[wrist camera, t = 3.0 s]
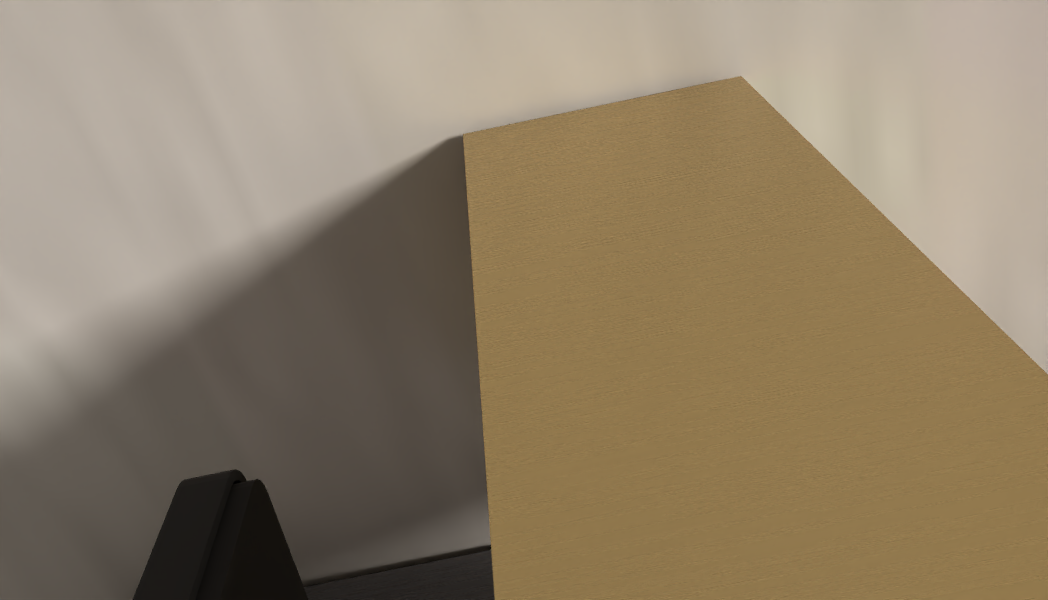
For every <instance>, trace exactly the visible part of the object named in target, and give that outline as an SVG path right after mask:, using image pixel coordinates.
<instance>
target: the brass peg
mask: <svg viewBox="0 0 1048 600" xmlns="http://www.w3.org/2000/svg"><path fill="white" fill-rule="evenodd" d="M463 142H464V157H465V172H466V186H467V201H468V216H469V230H470V245H471V259H472V274H473V289H474V303H475V318H476V333H477V347H478V362H479V377H480V391H481V406H482V421H483V435H484V450H485V465H486V479H487V494H488V509H489V523H490V538H491V553H492V567H493V582H494V596H495V600H1048V374H1047V373H1046V372H1045V371H1044V370H1042V369H1041V368H1040V367H1039V366H1038V365H1037V364H1036V363H1035V362H1034V361H1033V360H1032V359H1031V358H1030V357H1029V356H1028V355H1027V354H1026V353H1025V352H1024V351H1023V350H1022V349H1021V348H1020V347H1019V346H1018V345H1017V344H1016V343H1015V342H1014V341H1013V340H1012V339H1011V338H1010V337H1009V336H1008V335H1007V334H1006V333H1004V332H1003V331H1002V330H1001V329H1000V328H999V327H998V326H997V325H996V324H995V323H994V322H993V321H992V320H991V319H990V318H989V317H988V316H987V315H986V314H985V313H984V312H983V311H982V310H981V309H980V308H979V307H978V306H977V305H976V304H975V303H974V302H973V301H972V300H971V299H970V298H969V297H968V296H966V295H965V294H964V293H963V292H962V291H961V290H960V289H959V288H958V287H957V286H956V285H955V284H954V283H953V282H952V281H951V280H950V279H949V278H948V277H947V276H946V275H945V274H944V273H943V272H942V271H941V270H940V269H939V268H938V267H937V266H936V265H935V264H934V263H933V262H932V261H931V260H929V259H928V258H927V257H926V256H925V255H924V254H923V253H922V252H921V251H920V250H919V249H918V248H917V247H916V246H915V245H914V244H913V243H912V242H911V241H910V240H909V239H908V238H907V237H906V236H905V235H904V234H903V233H902V232H901V231H900V230H899V229H898V228H897V227H896V226H895V225H894V224H893V223H891V222H890V221H889V220H888V219H887V218H886V217H885V216H884V215H883V214H882V213H881V212H880V211H879V210H878V209H877V208H876V207H875V206H874V205H873V204H872V203H871V202H870V201H869V200H868V199H867V198H866V197H865V196H864V195H863V194H862V193H861V192H860V191H859V190H858V189H857V188H856V187H854V186H853V185H852V184H851V183H850V182H849V181H848V180H847V179H846V178H845V177H844V176H843V175H842V174H841V173H840V172H839V171H838V170H837V169H836V168H835V167H834V166H833V165H832V164H831V163H830V162H829V161H828V160H827V159H826V158H825V157H824V156H823V155H822V154H821V153H820V152H819V151H818V150H816V149H815V148H814V147H813V146H812V145H811V144H810V143H809V142H808V141H807V140H806V139H805V138H804V137H803V136H802V135H801V134H800V133H799V132H798V131H797V130H796V129H795V128H794V127H793V126H792V125H791V124H790V123H789V122H788V121H787V120H786V119H785V118H784V117H783V116H782V115H781V114H780V113H778V112H777V111H776V110H775V109H774V108H773V107H772V106H771V105H770V104H769V103H768V102H767V101H766V100H765V99H764V98H763V97H762V96H761V95H760V94H759V93H758V92H757V91H756V90H755V89H754V88H753V87H752V86H751V85H750V84H749V83H748V82H747V81H746V80H745V79H744V78H743V77H741V76H740V77H735V78H730V79H725V80H720V81H716V82H711V83H706V84H701V85H696V86H692V87H687V88H682V89H677V90H673V91H668V92H663V93H658V94H653V95H649V96H644V97H639V98H634V99H630V100H625V101H620V102H615V103H610V104H606V105H601V106H596V107H591V108H586V109H582V110H577V111H572V112H567V113H563V114H558V115H553V116H548V117H543V118H539V119H534V120H529V121H524V122H519V123H515V124H510V125H505V126H500V127H496V128H491V129H486V130H481V131H476V132H472V133H467V134H463Z"/></svg>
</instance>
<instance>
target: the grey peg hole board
mask: <svg viewBox="0 0 1048 600" xmlns="http://www.w3.org/2000/svg"><path fill="white" fill-rule="evenodd" d="M304 589H305V592H306V595H307V597H308V600H495V596H494V582H493V567H492V553H491V550H488V551H483V552H478V553H473V554H468V555H463V556H458V557H453V558H448V559H443V560H438V561H433V562H428V563H423V564H418V565H413V566H408V567H403V568H398V569H393V570H388V571H383V572H378V573H373V574H368V575H363V576H358V577H353V578H348V579H343V580H338V581H333V582H328V583H323V584H318V585H313V586H308V587H304Z"/></svg>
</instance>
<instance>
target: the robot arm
mask: <svg viewBox="0 0 1048 600" xmlns="http://www.w3.org/2000/svg"><path fill="white" fill-rule="evenodd" d="M133 600H308V597H307V595H306V592H305V589H304V587H303V584H302V581H301V579H300V576H299V574H298V571H297V568H296V566H295V563H294V561H293V558H292V555H291V553H290V550H289V547H288V545H287V542H286V540H285V537H284V534H283V532H282V529H281V526H280V524H279V521H278V519H277V516H276V513H275V511H274V508H273V505H272V503H271V500H270V498H269V495H268V492H267V490H266V488H265V486H264V484H263V483H262V482H261V480H258V479H256V480H251V481H246V479H245V477H244V475H243V474H242V473H241V472H240V471H238V470H236V469H235V470H230V471H225V472H220V473H215V474H210V475H205V476H201V477H196V478H191V479H186V480H184V481H182V482H181V483H180V484H179V486H178V488H177V490H176V493H175V495H174V498H173V500H172V503H171V505H170V508H169V510H168V513H167V515H166V518H165V520H164V523H163V525H162V528H161V530H160V533H159V535H158V538H157V540H156V543H155V545H154V548H153V550H152V553H151V555H150V558H149V560H148V563H147V565H146V568H145V570H144V573H143V575H142V578H141V580H140V583H139V585H138V588H137V590H136V593H135V595H134V598H133Z"/></svg>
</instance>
